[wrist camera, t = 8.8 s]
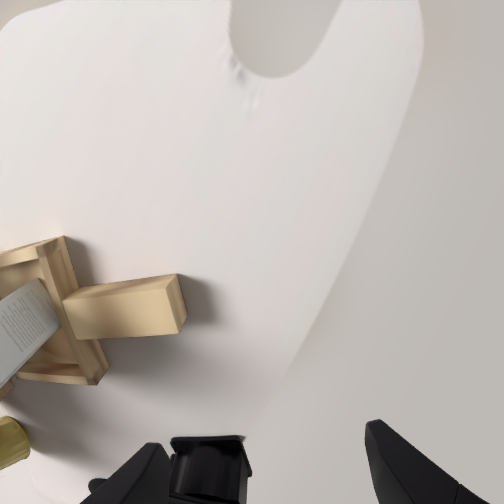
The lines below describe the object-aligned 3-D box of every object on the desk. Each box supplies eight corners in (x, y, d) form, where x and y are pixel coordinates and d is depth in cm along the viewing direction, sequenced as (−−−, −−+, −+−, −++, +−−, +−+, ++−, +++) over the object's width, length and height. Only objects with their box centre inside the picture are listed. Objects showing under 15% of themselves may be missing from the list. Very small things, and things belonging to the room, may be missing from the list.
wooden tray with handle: (162, 212, 19) (147, 220, 17) (201, 362, 22) (194, 384, 19) (-12, 255, 21) (-31, 264, 18) (30, 363, 24) (16, 378, 21)
